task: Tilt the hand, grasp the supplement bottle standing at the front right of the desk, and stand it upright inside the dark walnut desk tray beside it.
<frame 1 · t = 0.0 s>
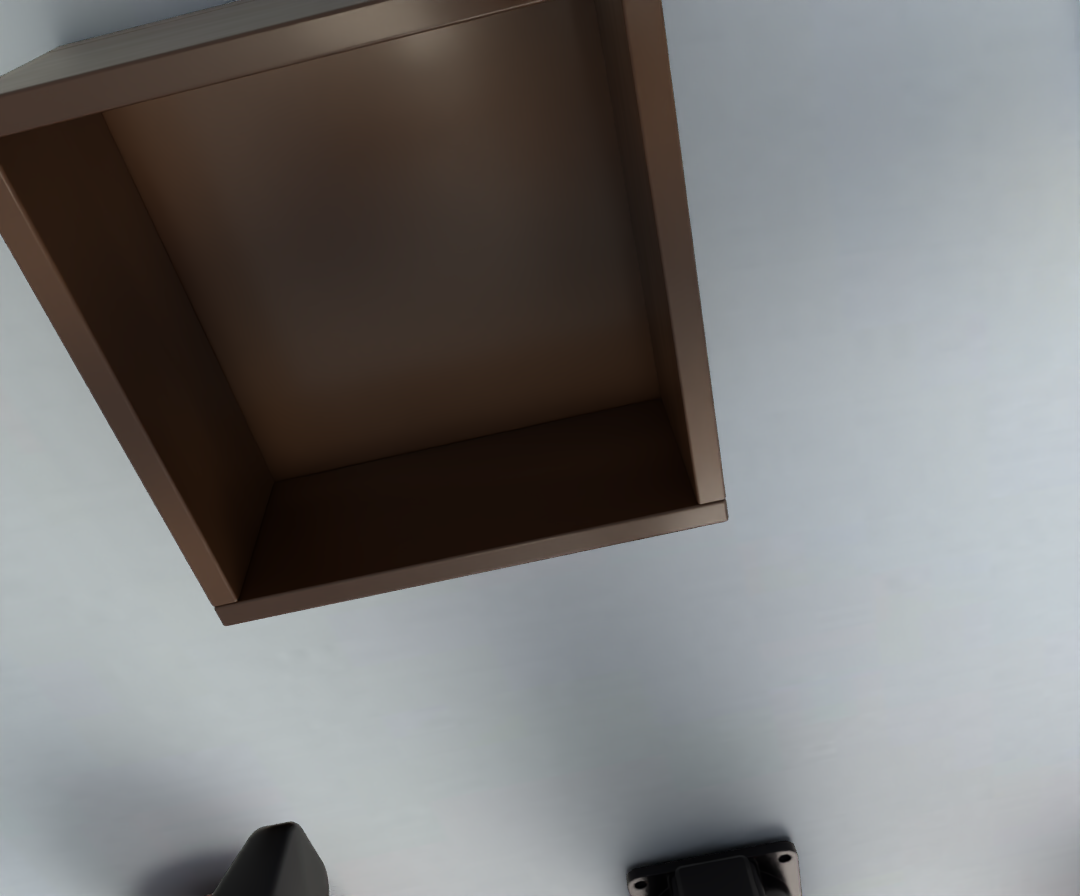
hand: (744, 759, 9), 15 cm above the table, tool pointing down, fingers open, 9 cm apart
desk tray: (409, 243, 21), on the table
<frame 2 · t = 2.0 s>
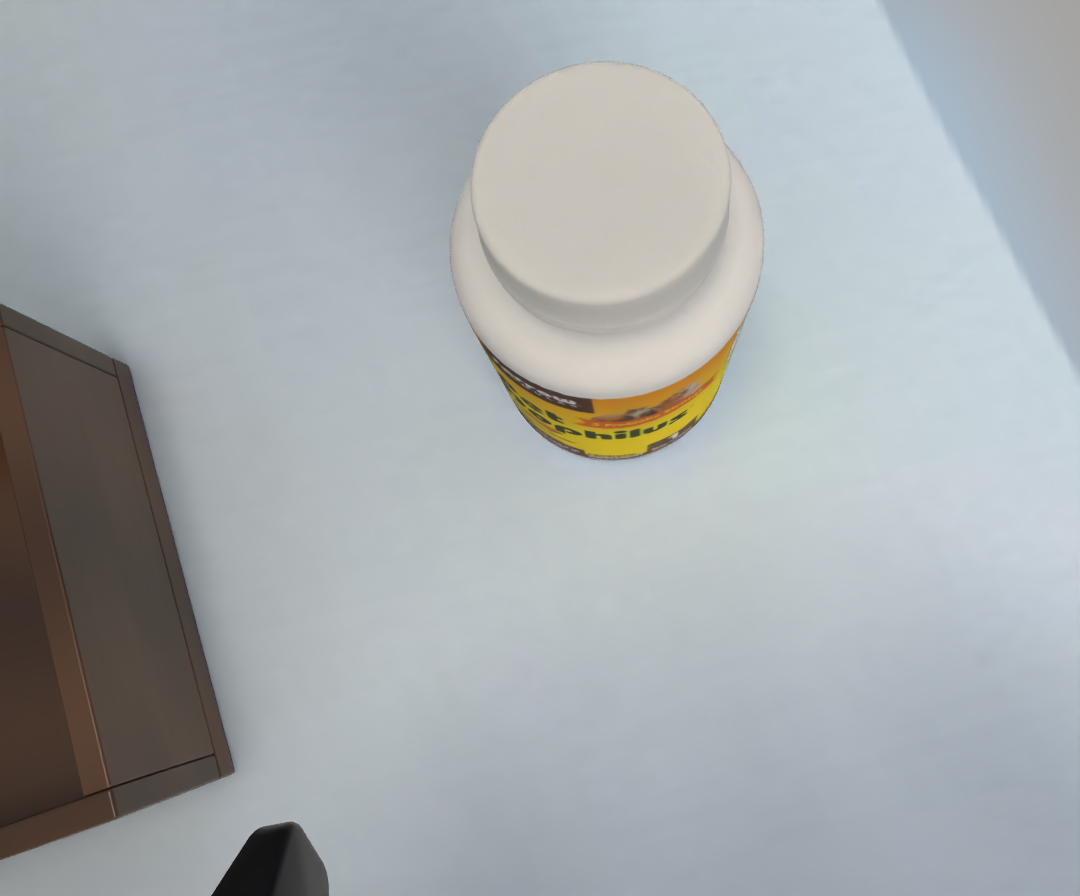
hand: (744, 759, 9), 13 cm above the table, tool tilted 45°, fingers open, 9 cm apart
supplement bottle: (614, 362, 24), on the table
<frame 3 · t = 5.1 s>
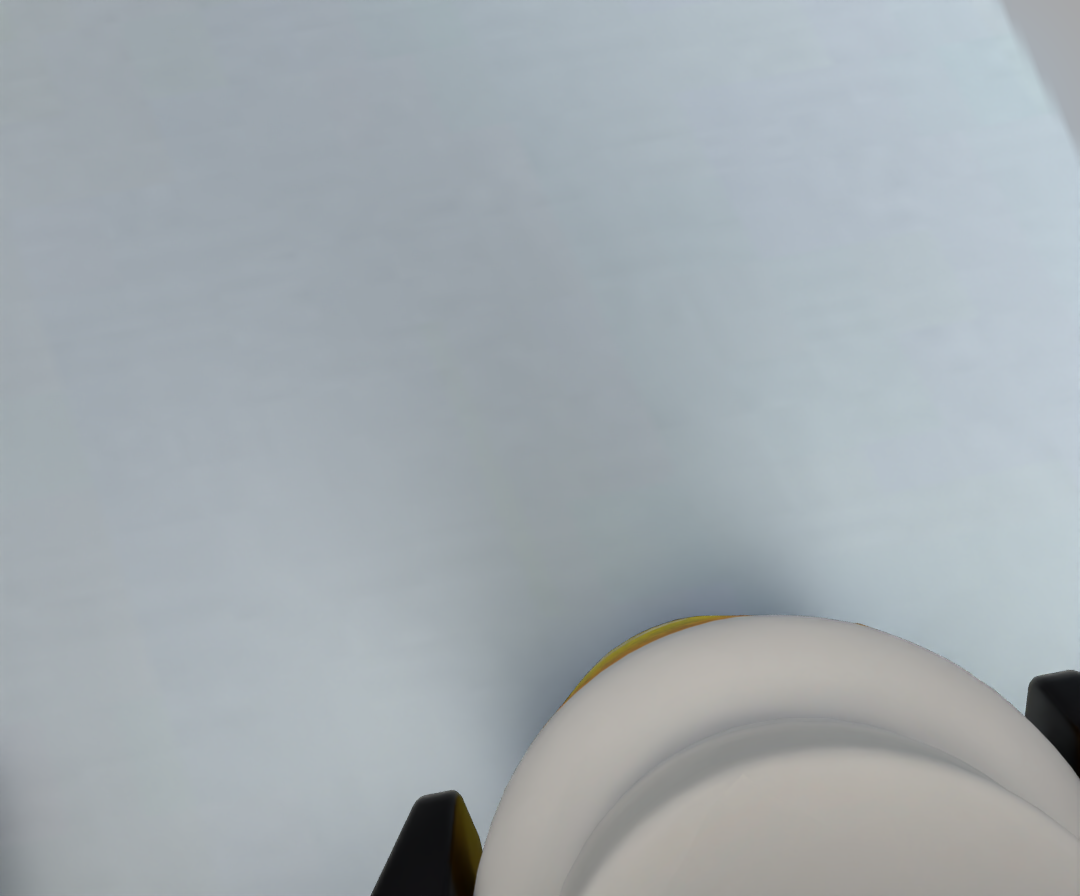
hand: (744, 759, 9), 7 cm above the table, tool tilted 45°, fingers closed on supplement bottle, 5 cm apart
supplement bottle: (716, 784, 15), on the table, touching gripper
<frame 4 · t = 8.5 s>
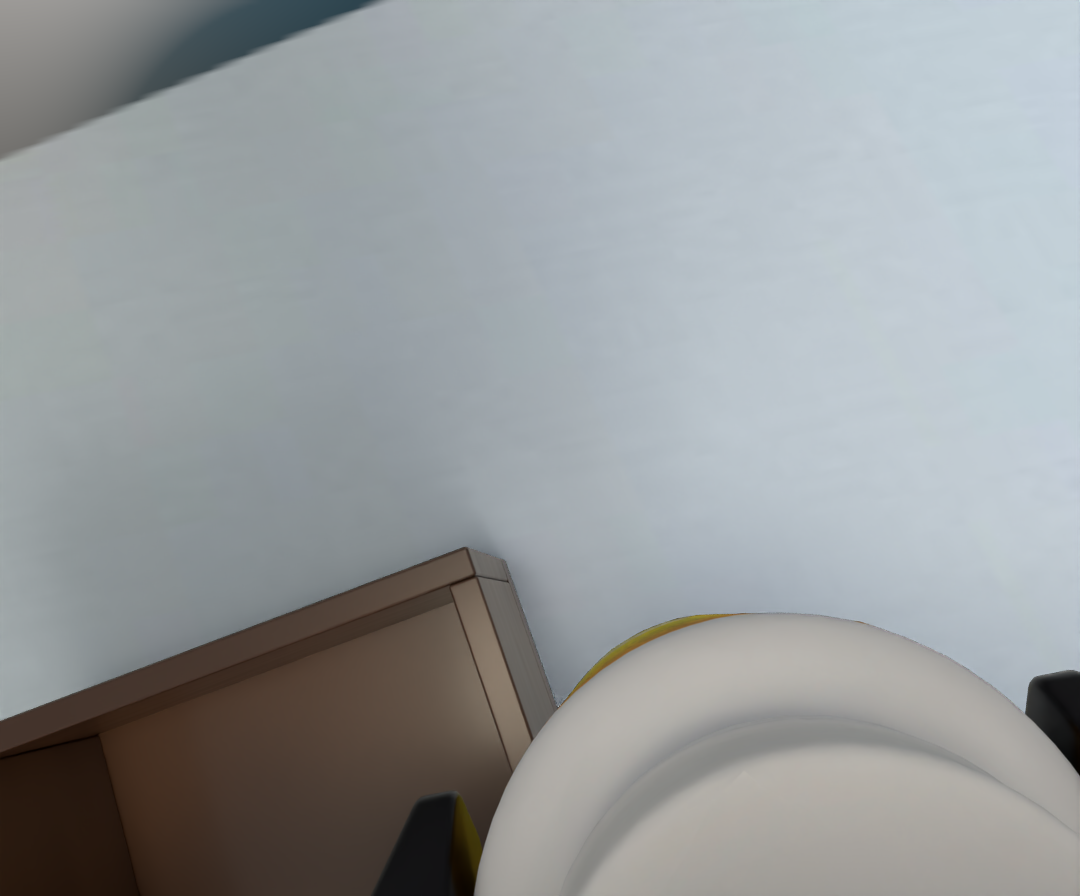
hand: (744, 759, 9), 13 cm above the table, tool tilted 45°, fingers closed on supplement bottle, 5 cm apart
supplement bottle: (716, 783, 15), point 6 cm above the table, touching gripper
desk tray: (363, 863, 22), on the table
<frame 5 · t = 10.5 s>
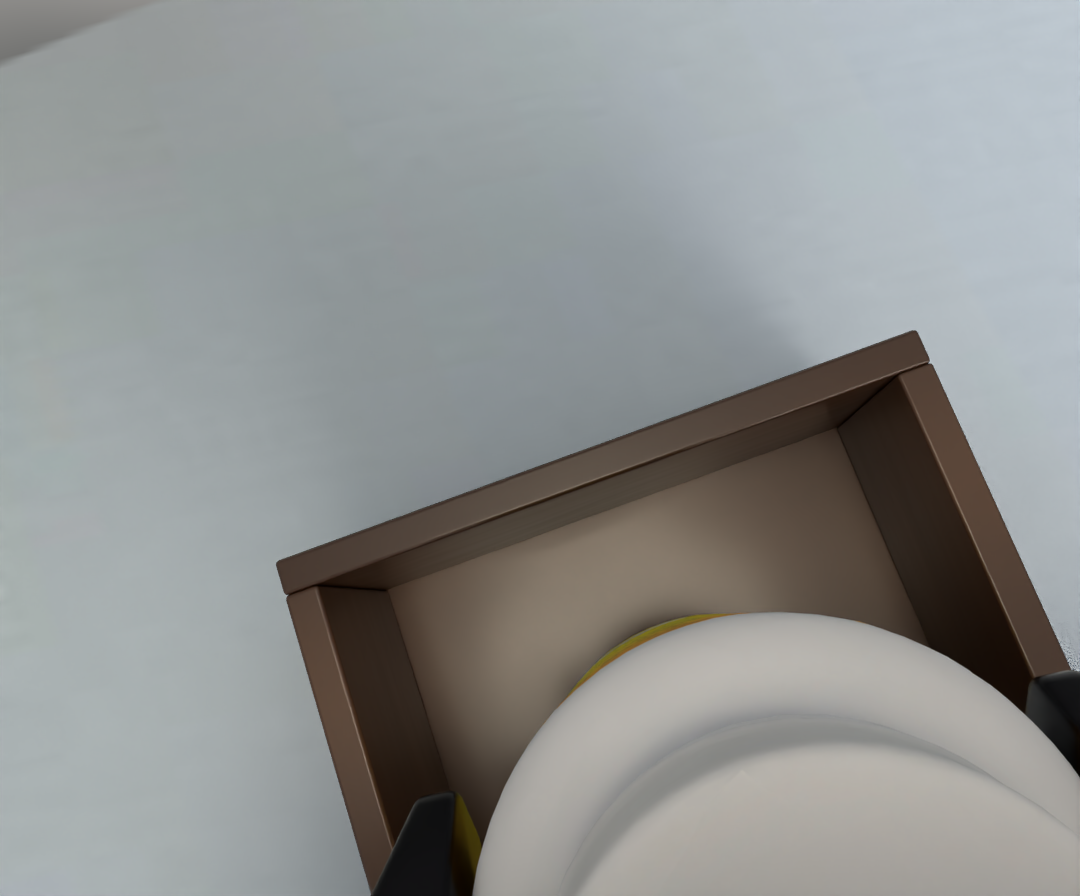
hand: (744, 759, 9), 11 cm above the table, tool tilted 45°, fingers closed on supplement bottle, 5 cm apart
supplement bottle: (716, 783, 15), point 4 cm above the table, touching gripper
desk tray: (693, 738, 19), on the table
when the fingers open (7 cm above the table, at t = 11.9 s): supplement bottle stays where it is, resting on desk tray.
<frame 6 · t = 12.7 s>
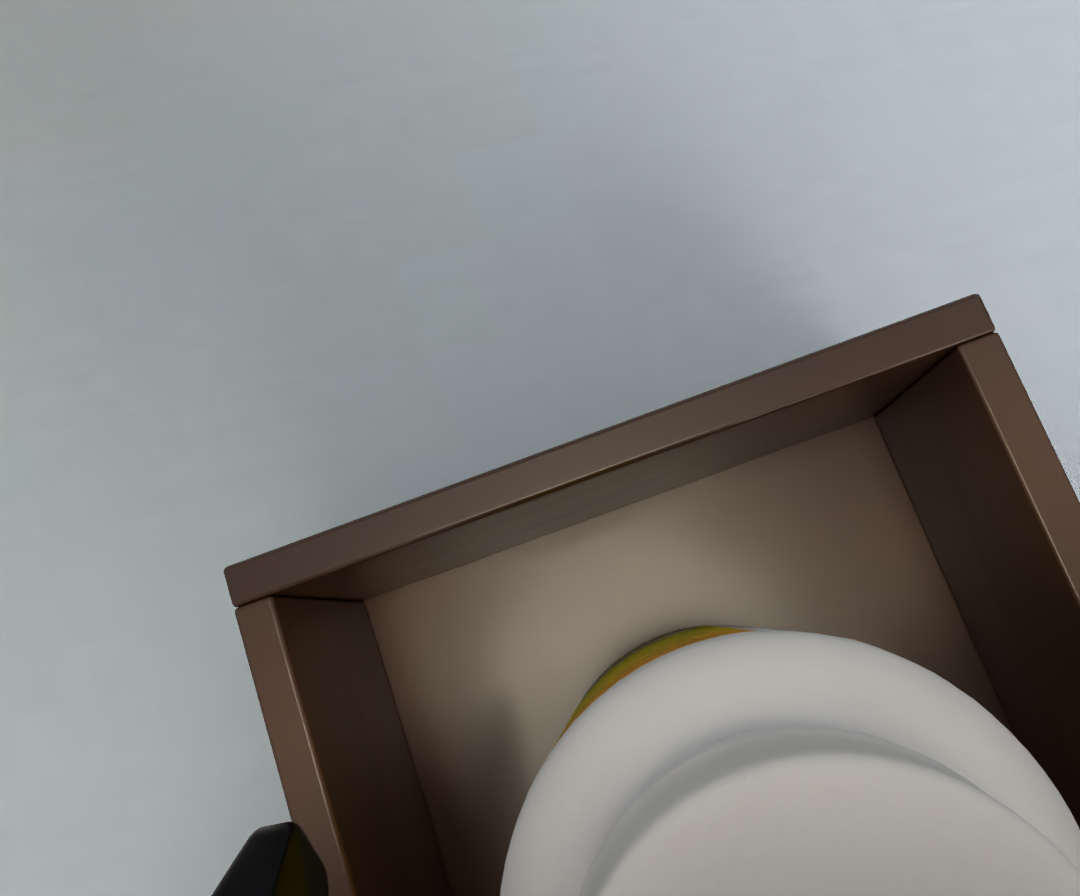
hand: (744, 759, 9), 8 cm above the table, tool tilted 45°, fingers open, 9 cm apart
supplement bottle: (718, 785, 16), point 1 cm above the table, touching desk tray
desk tray: (712, 770, 17), on the table
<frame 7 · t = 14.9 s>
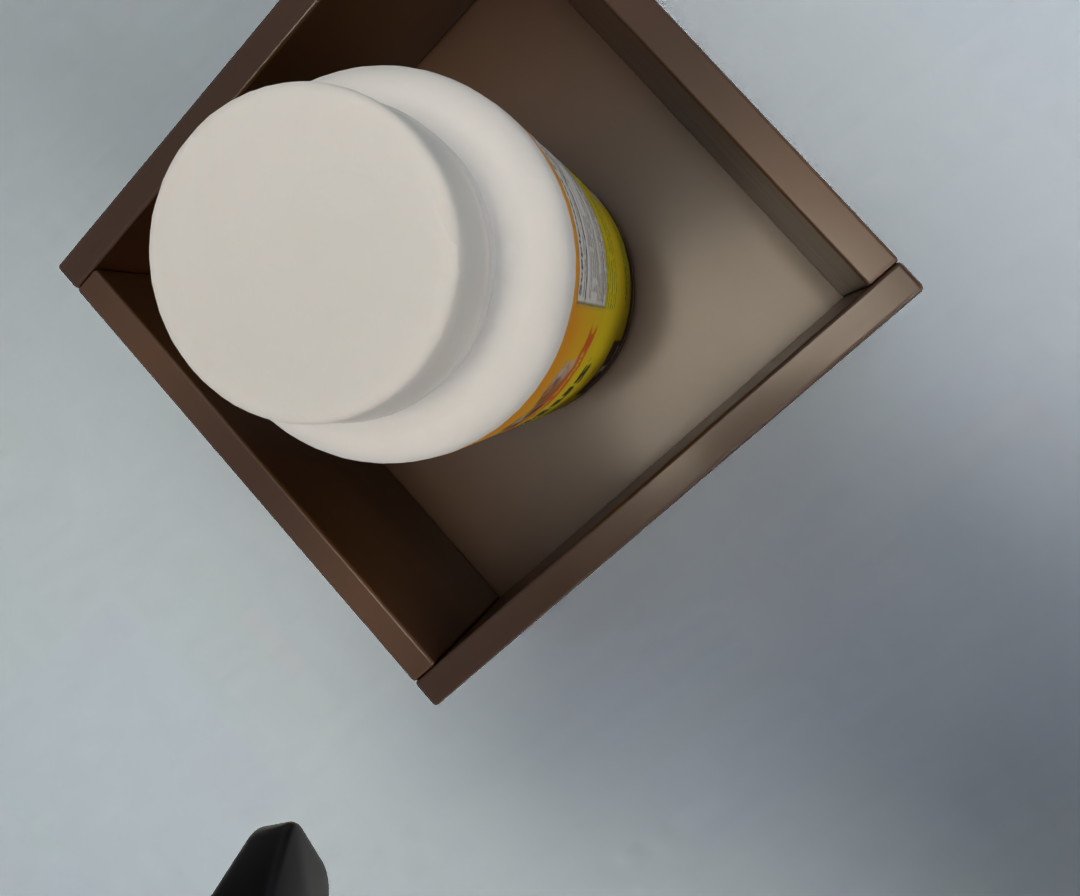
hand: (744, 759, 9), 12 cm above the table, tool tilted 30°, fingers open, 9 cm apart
supplement bottle: (517, 294, 21), point 1 cm above the table, touching desk tray
desk tray: (519, 290, 21), on the table
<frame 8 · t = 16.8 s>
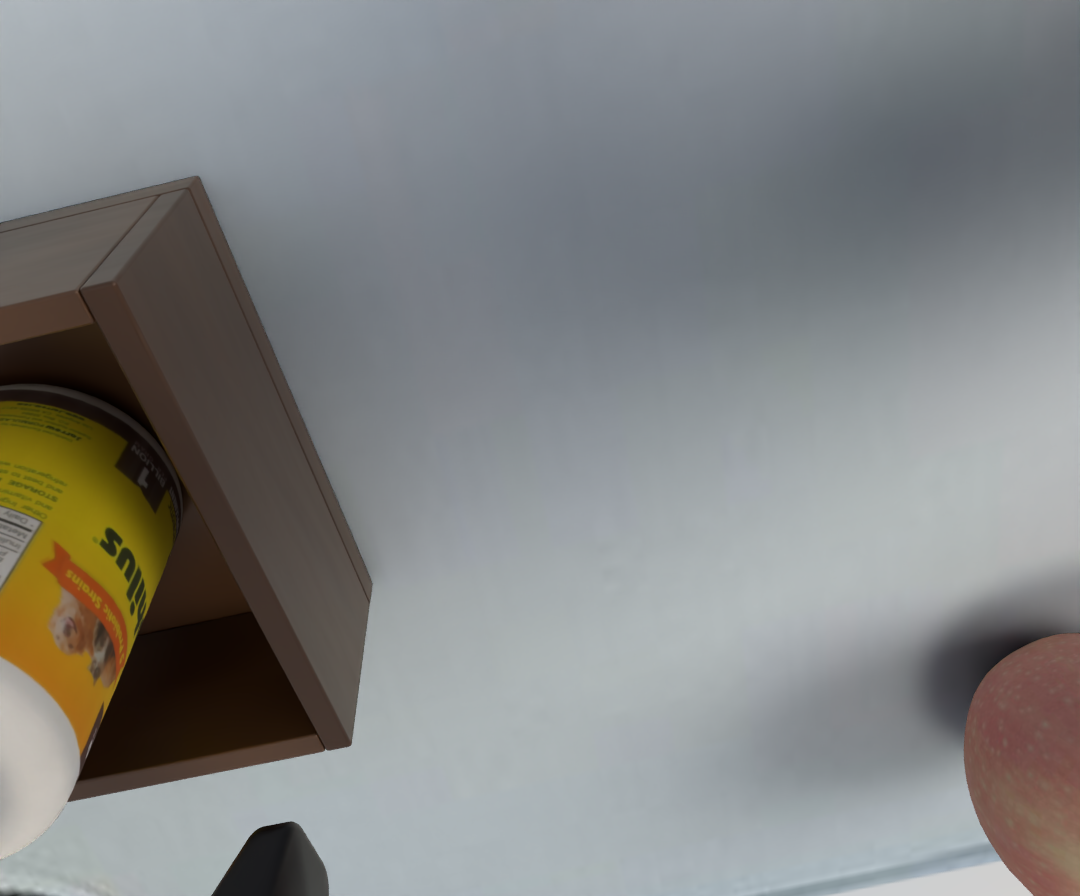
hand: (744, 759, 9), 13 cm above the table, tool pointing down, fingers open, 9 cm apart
supplement bottle: (68, 472, 21), point 1 cm above the table, touching desk tray
desk tray: (71, 459, 22), on the table
apple: (1041, 658, 28), on the table
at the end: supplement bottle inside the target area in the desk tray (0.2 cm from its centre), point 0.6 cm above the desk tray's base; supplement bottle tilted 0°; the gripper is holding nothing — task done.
